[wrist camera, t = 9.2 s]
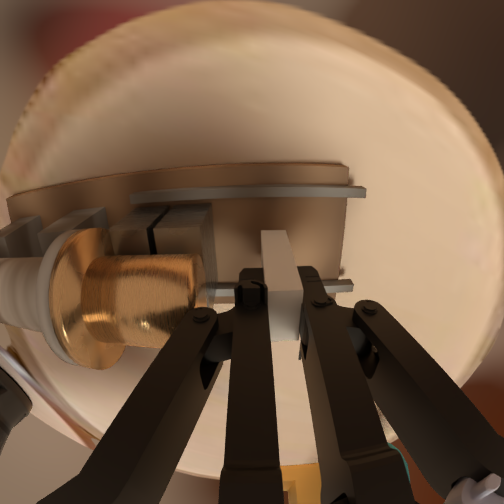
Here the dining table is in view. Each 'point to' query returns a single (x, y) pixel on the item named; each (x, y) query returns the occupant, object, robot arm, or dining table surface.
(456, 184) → the dining table surface
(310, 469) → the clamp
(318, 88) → the dining table surface
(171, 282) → the coupling
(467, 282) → the dining table surface
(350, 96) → the dining table surface
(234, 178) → the pipe jig
